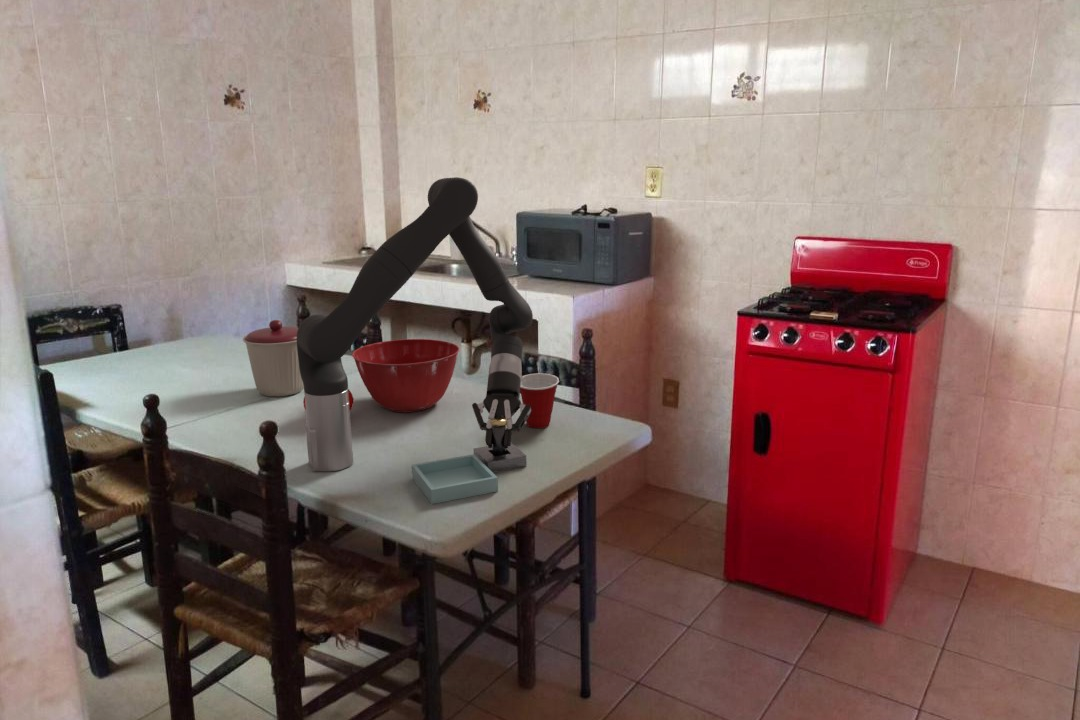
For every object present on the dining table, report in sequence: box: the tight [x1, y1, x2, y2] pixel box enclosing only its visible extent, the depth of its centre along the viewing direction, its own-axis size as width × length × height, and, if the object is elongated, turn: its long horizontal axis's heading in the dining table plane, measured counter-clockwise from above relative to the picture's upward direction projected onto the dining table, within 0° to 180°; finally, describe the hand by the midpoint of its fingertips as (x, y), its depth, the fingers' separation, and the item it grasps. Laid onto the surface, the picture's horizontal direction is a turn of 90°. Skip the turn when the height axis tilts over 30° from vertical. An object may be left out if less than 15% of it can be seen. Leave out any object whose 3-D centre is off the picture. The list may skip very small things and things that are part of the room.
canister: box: [242, 319, 304, 397], centre depth 224 cm, size 18×18×21 cm
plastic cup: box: [520, 373, 560, 429], centre depth 197 cm, size 11×11×12 cm
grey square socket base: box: [473, 443, 527, 473], centre depth 175 cm, size 9×9×2 cm
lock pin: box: [491, 417, 507, 457], centre depth 174 cm, size 4×4×10 cm
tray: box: [411, 453, 499, 505], centre depth 163 cm, size 14×14×3 cm
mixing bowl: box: [351, 338, 460, 413], centre depth 213 cm, size 28×28×15 cm
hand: (498, 446), depth 172 cm, fingers closed on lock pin, 3 cm apart
